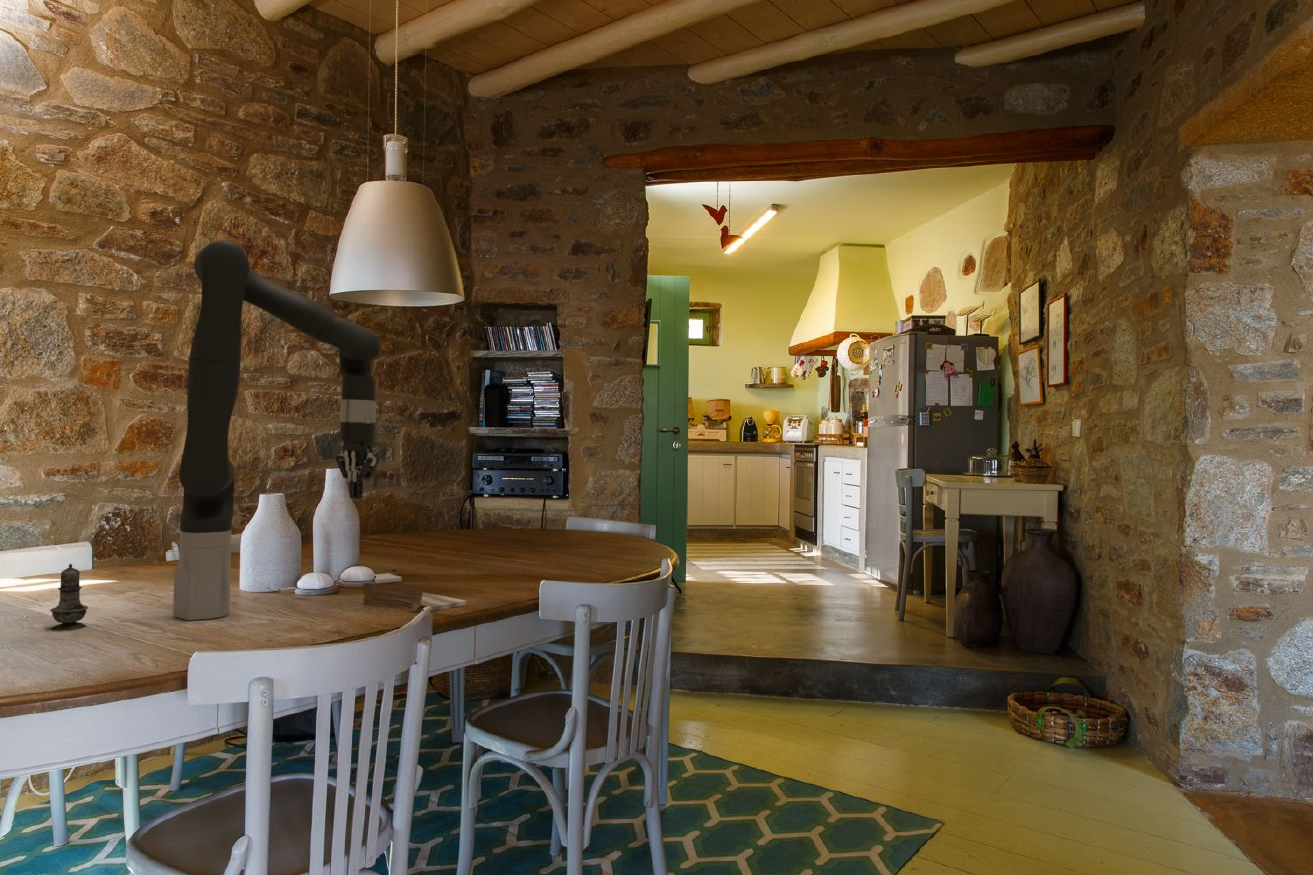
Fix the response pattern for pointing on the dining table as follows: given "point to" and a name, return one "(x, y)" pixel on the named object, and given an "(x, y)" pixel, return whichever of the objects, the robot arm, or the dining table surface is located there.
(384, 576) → the baseboard
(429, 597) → the floor panel
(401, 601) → the driftwood piece
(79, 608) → the salt shaker
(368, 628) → the dining table surface
